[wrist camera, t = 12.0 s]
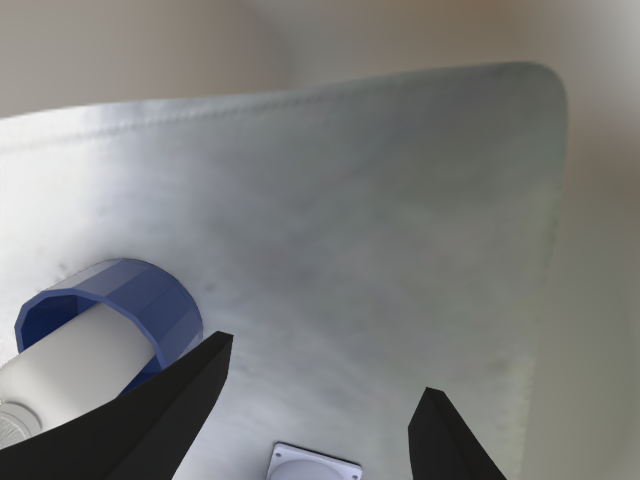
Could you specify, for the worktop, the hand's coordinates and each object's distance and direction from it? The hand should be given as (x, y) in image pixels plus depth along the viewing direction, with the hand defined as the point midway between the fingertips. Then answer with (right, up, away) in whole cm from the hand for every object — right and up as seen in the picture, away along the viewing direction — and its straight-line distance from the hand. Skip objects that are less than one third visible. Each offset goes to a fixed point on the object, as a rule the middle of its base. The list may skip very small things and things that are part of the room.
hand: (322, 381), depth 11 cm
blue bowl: (-14, -1, +13) cm, 20 cm away
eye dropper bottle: (-15, -1, +13) cm, 20 cm away
